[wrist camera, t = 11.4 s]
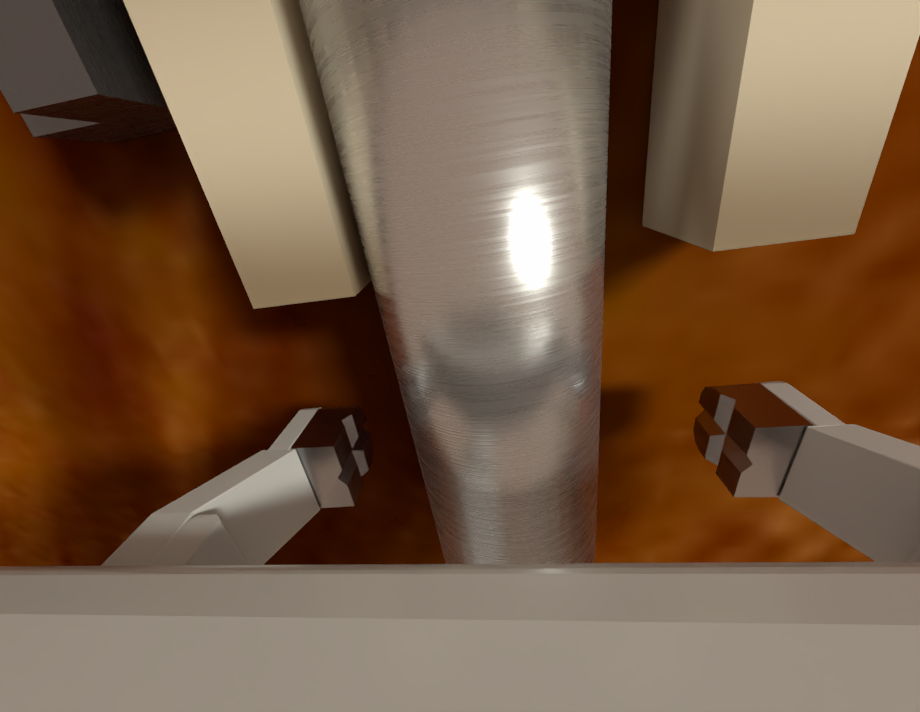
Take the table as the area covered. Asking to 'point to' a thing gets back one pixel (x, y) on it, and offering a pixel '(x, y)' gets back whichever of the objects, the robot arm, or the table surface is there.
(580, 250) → the axle
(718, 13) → the beige u-shaped bracket
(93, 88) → the dark blocks
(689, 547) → the table surface
